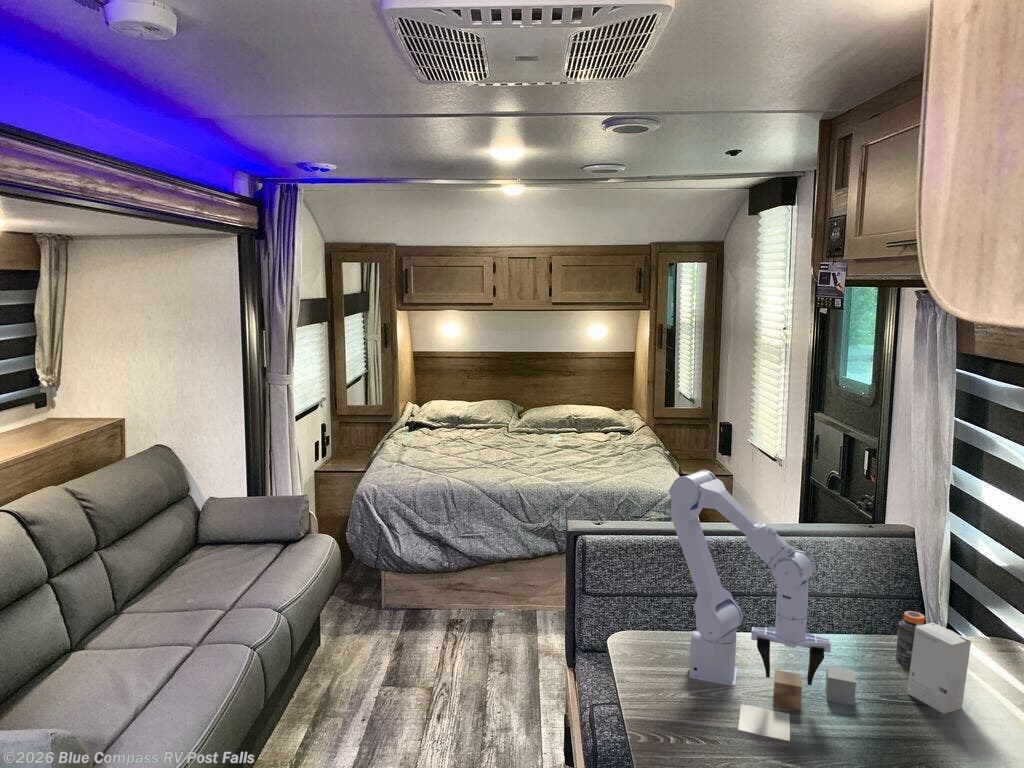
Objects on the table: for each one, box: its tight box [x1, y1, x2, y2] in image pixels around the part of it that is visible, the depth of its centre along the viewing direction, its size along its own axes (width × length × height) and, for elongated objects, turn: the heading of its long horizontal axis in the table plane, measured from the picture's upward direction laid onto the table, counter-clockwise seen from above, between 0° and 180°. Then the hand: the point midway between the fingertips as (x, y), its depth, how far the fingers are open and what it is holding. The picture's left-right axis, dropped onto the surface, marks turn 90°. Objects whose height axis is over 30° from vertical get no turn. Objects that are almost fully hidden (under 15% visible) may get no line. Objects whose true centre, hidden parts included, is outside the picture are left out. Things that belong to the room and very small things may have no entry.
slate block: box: [824, 665, 857, 707], centre depth 140 cm, size 5×5×5 cm
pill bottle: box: [895, 610, 926, 668], centre depth 154 cm, size 6×6×11 cm
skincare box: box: [906, 622, 972, 715], centre depth 138 cm, size 8×6×15 cm
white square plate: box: [737, 704, 791, 743], centre depth 132 cm, size 9×9×1 cm
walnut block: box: [772, 669, 803, 712], centre depth 138 cm, size 5×5×5 cm
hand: (788, 678), depth 138 cm, fingers open, 7 cm apart
